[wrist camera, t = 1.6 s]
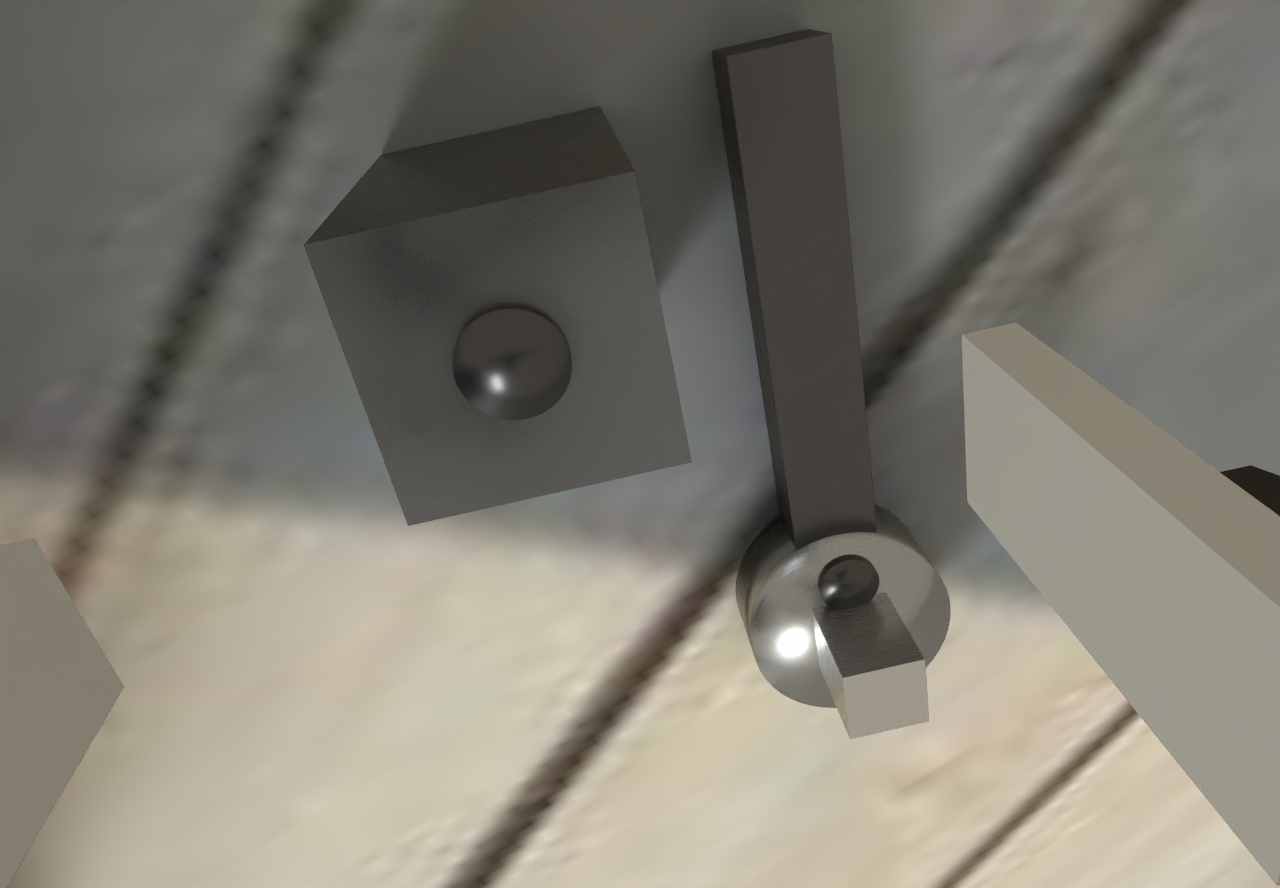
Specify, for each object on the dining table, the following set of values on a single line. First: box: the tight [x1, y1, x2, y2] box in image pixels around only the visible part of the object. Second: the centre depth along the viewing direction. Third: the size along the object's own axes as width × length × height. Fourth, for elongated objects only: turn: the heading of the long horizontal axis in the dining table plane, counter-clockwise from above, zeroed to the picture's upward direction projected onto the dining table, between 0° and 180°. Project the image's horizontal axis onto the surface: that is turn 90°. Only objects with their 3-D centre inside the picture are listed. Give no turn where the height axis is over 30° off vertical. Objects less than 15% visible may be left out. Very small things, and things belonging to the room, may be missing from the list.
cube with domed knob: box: [304, 107, 691, 526], centre depth 23 cm, size 6×6×10 cm
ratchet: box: [712, 29, 950, 739], centre depth 28 cm, size 7×22×6 cm, turn 11°
